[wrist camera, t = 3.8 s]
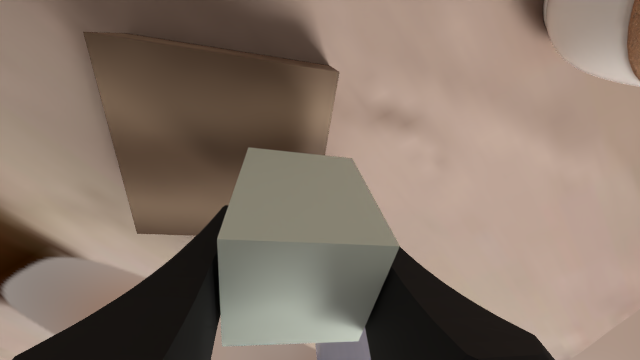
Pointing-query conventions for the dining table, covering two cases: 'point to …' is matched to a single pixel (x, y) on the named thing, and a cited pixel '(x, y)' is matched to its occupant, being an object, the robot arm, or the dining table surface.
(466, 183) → the dining table surface
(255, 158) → the sage block
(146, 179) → the walnut box
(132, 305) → the robot arm
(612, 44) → the lidded jar
